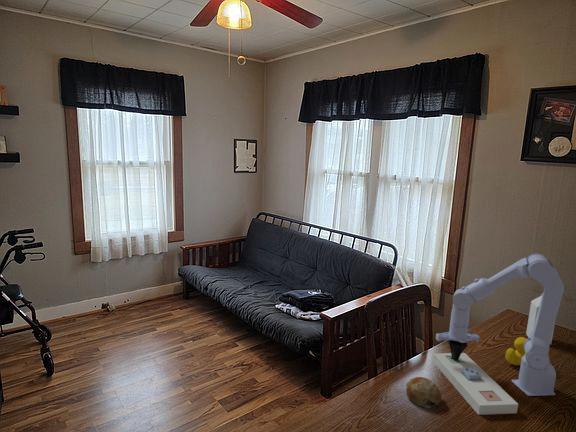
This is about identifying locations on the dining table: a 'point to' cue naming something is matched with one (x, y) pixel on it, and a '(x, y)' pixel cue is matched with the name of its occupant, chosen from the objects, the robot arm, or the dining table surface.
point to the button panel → (475, 386)
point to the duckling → (516, 352)
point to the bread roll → (423, 392)
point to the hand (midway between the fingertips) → (454, 359)
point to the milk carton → (533, 315)
